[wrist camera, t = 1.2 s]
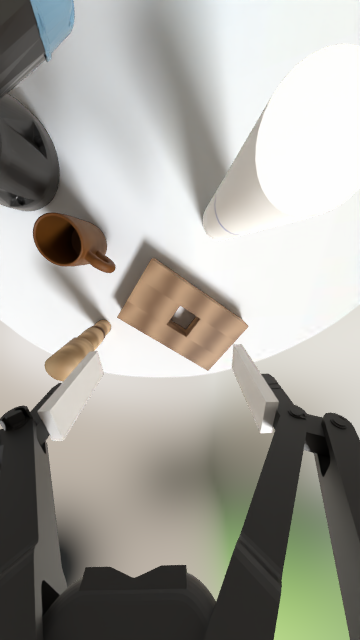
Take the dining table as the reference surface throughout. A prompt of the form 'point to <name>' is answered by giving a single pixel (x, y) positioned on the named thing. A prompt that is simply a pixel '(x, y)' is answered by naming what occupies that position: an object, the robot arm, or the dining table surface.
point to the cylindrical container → (296, 150)
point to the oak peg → (76, 351)
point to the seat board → (163, 301)
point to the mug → (71, 242)
